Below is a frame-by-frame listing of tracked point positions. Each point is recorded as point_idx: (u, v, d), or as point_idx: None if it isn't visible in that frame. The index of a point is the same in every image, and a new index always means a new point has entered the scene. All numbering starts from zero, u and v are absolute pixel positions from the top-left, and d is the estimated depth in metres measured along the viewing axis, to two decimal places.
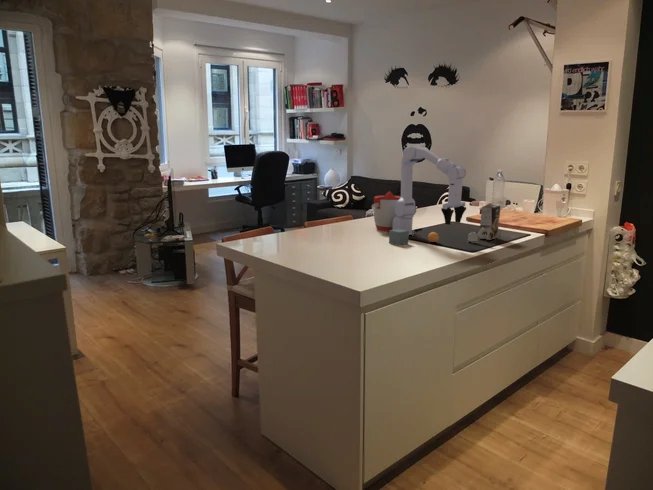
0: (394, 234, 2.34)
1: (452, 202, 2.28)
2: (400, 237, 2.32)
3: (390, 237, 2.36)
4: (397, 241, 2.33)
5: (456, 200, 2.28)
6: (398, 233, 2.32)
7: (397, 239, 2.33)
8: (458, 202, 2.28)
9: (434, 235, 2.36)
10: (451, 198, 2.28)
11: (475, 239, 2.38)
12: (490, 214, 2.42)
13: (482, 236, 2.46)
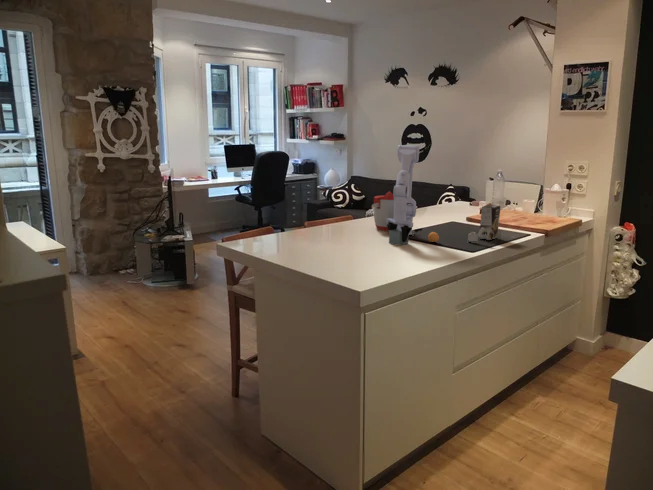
0: (394, 234, 2.34)
1: None
2: (400, 237, 2.32)
3: (390, 237, 2.36)
4: (397, 241, 2.33)
5: None
6: (398, 233, 2.32)
7: (397, 239, 2.33)
8: (394, 219, 2.33)
9: (434, 235, 2.36)
10: None
11: (475, 239, 2.38)
12: (490, 214, 2.42)
13: (482, 236, 2.46)
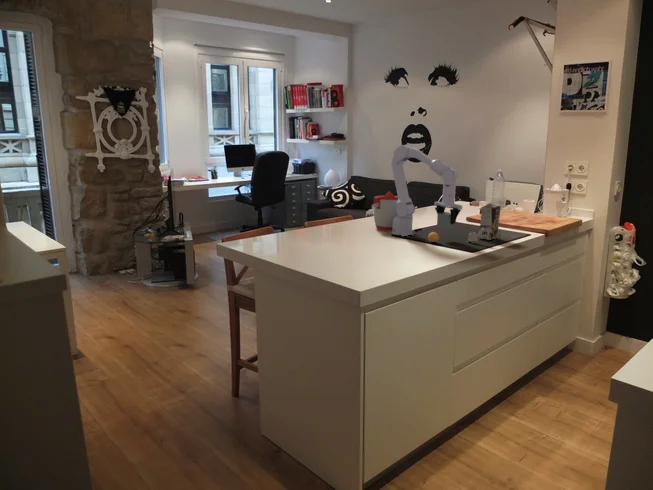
0: (442, 217, 2.40)
1: None
2: (449, 220, 2.39)
3: (438, 220, 2.43)
4: (445, 224, 2.40)
5: (442, 200, 2.41)
6: (447, 216, 2.39)
7: (446, 222, 2.40)
8: (443, 202, 2.40)
9: (434, 235, 2.36)
10: None
11: (475, 239, 2.38)
12: (490, 214, 2.42)
13: (482, 236, 2.46)
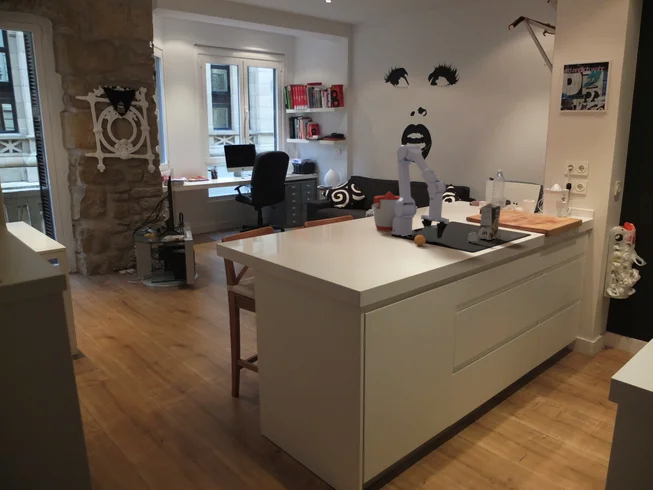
0: (429, 230, 2.36)
1: None
2: (436, 233, 2.34)
3: (425, 233, 2.38)
4: (432, 237, 2.35)
5: (429, 213, 2.36)
6: (434, 229, 2.34)
7: (433, 235, 2.35)
8: (430, 215, 2.35)
9: None
10: None
11: (475, 239, 2.38)
12: (490, 214, 2.42)
13: (482, 236, 2.46)
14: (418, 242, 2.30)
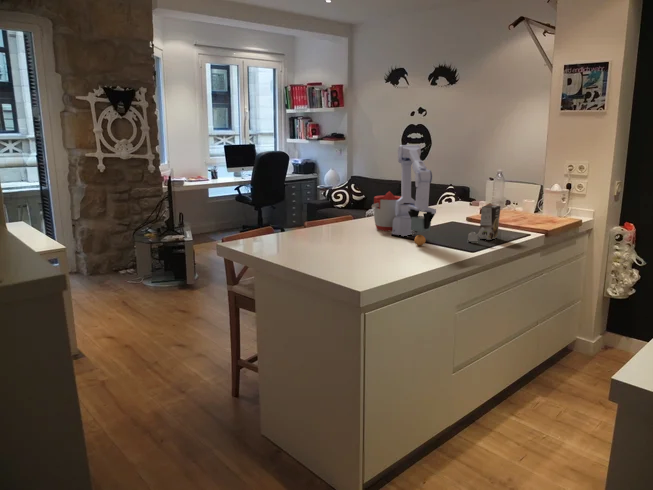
0: (416, 221, 2.28)
1: None
2: (422, 224, 2.27)
3: (412, 224, 2.30)
4: (419, 228, 2.27)
5: (415, 203, 2.28)
6: (420, 220, 2.26)
7: (419, 226, 2.27)
8: (416, 205, 2.27)
9: None
10: None
11: (475, 239, 2.38)
12: (490, 214, 2.42)
13: (482, 236, 2.46)
14: (418, 242, 2.30)
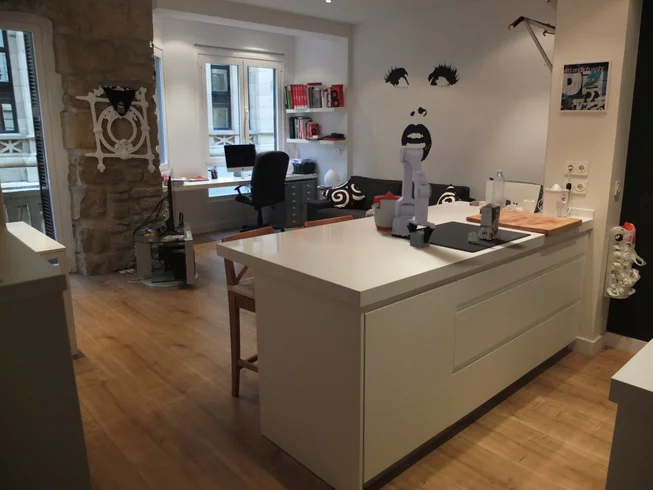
0: (415, 236, 2.30)
1: None
2: (422, 239, 2.28)
3: (411, 239, 2.32)
4: (418, 243, 2.29)
5: None
6: (420, 235, 2.28)
7: (418, 241, 2.29)
8: (415, 220, 2.29)
9: None
10: None
11: (475, 239, 2.38)
12: (490, 214, 2.42)
13: (482, 236, 2.46)
14: None
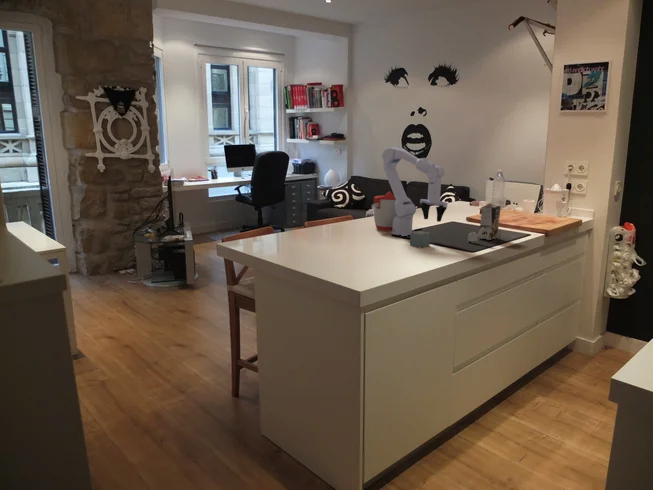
0: (415, 236, 2.30)
1: None
2: (422, 239, 2.28)
3: (411, 239, 2.32)
4: (418, 243, 2.29)
5: None
6: (420, 235, 2.28)
7: (418, 241, 2.29)
8: (428, 199, 2.40)
9: None
10: None
11: (475, 239, 2.38)
12: (490, 214, 2.42)
13: (482, 236, 2.46)
14: None
